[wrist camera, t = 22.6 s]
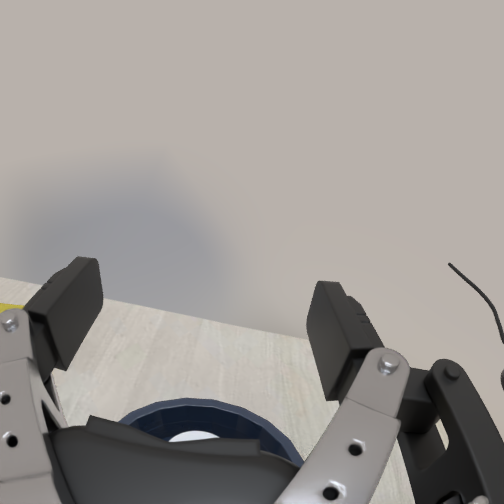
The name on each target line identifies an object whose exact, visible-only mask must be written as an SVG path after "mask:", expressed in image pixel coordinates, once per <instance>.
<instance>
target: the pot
mask: <svg viewBox="0 0 504 504" xmlns="http://www.w3.org/2000/svg"><path fill="white" fill-rule="evenodd" d="M119 423H123V424H127V425H130V426H132V427H134V428H136V429H138V430H141V431H143V432H145V433H148V434H150V435H152V436H155V437H157V438H160V439H162V440H165V441H170V440H171V439H172V438H173V437H175V436H176V435H179V434H181V433H184V432H188V431H203V432H208V433H211V434H213V435H216V436H218V437H219V438H233V439H260V450H261V451H265V452H269V453H272V454H275V455H278V456H280V457H283V458H285V459H287V460H289V461H291V462H293V463H294V464H296V465H297V466H299V467H301V466H302V465H303V463H304V461H303V459H302V458H301V456H300V455H299V453H298V451H297V450H296V448H295V447H294V445H293V444H292V442H291V440H289V438H287V437H286V436H285V435H284V434H283V433H282V432H280V431H279V430H278V429H277V428H276V427H275V426H274V425H273V424H271V423H270V422H269V421H268V420H266V419H264V418H262V417H260V416H258V415H256V414H254V413H252V412H250V411H248V410H247V409H245V408H242V407H239V406H235V405H231V404H228V403H224V402H221V401H217V400H212V399H196V398H181V399H174V400H167V401H160V402H155V403H153V404H150V405H148V406H145V407H143V408H140V409H137V410H135V411H132V412H130V413H129V414H128V415H126V416H125V417H124V418H122V419H121V420H120V421H119Z"/></svg>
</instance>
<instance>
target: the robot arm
mask: <svg viewBox="0 0 504 504" xmlns="http://www.w3.org/2000/svg"><path fill="white" fill-rule="evenodd" d="M448 265H449V266H450V267H451V268H452V269H453V270H454V271H455V272H456V273H457V274H458V275H459V276H460V277H462V279H464V280H465V281H466V282H467V283H468V284H469V285H470V286H472V287H473V288H474V289H475V290H476V291H477V292H478V293H479V294H480V295H481V296H482V297H483V298H484V300H485V301H486V302H487V303H488V304H489V306H490V308H491V309H492V311H493V313H494V316H495V320H496V323H497V326H498V329H499V333H500V337H501V340H502V342H503V344H504V333H503V329H502V326H501V323H500V320H499V318H498V314H497V311H496V309H495V307H494V305H493V304H492V303H491V301H490V300H489V299H488V297H487V296H486V295H485V294H484V293H483V292H482V291H481V290H480V289H479V288H478V287H477V286H476V285H475V284H473V283H472V282H471V281H470V280H469V279H468V278H466V277H465V276H464V275H463V274H462V273H461V272H460V271H459V270H457V268H455V267H454V266H453V265H452V264H451V263H448ZM102 305H103V292H102V284H101V278H100V271H99V264H98V261H97V259H95V258H87V257H76V258H75V259H74V260H73V261H72V262H71V263H70V264H69V265H68V267H66V268H64V269H62V270H60V271H58V272H57V273H55V274H54V275H53V276H52V277H51V278H50V279H49V280H48V281H47V283H45V284H44V285H43V286H42V287H41V289H39V291H38V292H37V293H36V294H35V295H34V296H33V297H32V298H31V299H30V300H29V302H28V303H27V304H26V305H25V306H24V307H23V308H22V309H19V308H12V309H8V310H5V311H3V312H1V313H0V504H369V502H370V500H371V498H372V496H373V494H374V491H375V489H376V487H377V485H378V483H379V481H380V478H381V476H382V474H383V471H384V469H385V466H386V464H387V462H388V459H389V456H390V454H391V451H392V449H393V446H394V443H395V440H396V438H397V440H398V443H399V446H400V449H401V453H402V456H403V459H404V463H405V466H406V470H407V473H408V477H409V481H410V484H411V488H412V492H413V496H414V500H415V504H504V442H503V440H502V438H501V436H500V434H499V432H498V430H497V428H496V426H495V424H494V422H493V420H492V418H491V417H490V414H489V412H488V410H487V409H486V407H485V405H484V403H483V401H482V399H481V398H480V396H479V394H478V392H477V391H476V389H475V387H474V386H473V384H472V382H471V381H470V379H469V377H468V375H467V374H466V372H465V371H464V369H463V368H462V367H461V366H460V365H459V364H457V363H455V362H453V361H451V360H448V359H439V360H437V361H436V362H435V363H434V364H433V366H432V367H431V369H430V370H429V371H428V370H422V369H416V368H411V367H410V366H409V364H408V362H407V360H406V359H405V358H404V357H403V356H402V355H401V354H400V353H398V352H397V351H394V350H392V349H388V348H385V347H384V345H383V343H382V341H381V339H380V338H379V336H378V334H377V332H376V330H375V329H374V327H373V325H372V323H370V320H369V318H368V316H366V313H365V311H364V309H363V308H362V306H361V304H360V303H358V302H357V301H356V300H355V299H354V298H353V297H351V296H346V294H345V292H344V290H343V288H342V286H341V285H340V283H339V282H330V281H318V282H317V284H316V287H315V290H314V294H313V298H312V301H311V305H310V309H309V312H308V316H307V333H308V337H309V341H310V344H311V348H312V351H313V355H314V358H315V362H316V366H317V369H318V373H319V376H320V380H321V384H322V387H323V391H324V395H325V399H326V401H335V400H338V401H339V404H340V407H339V408H338V410H337V412H336V413H335V415H334V417H333V418H332V420H331V422H330V423H329V425H328V427H327V428H326V430H325V432H324V433H323V435H322V436H321V438H320V439H319V441H318V443H317V444H316V446H315V447H314V449H313V450H312V452H311V453H310V455H309V456H308V457H307V459H306V460H305V462H304V463H303V465H302V466H301V467H299V466H297V465H296V464H294V463H293V462H291V461H289V460H287V459H285V458H283V457H280V456H278V455H275V454H272V453H269V452H265V451H261V450H260V439H233V438H217V437H215V438H207V439H199V440H189V441H177V442H169V441H165V440H162V439H160V438H157V437H155V436H152V435H150V434H148V433H145V432H143V431H141V430H138V429H136V428H134V427H132V426H130V425H127V424H123V423H119V422H114V421H110V420H106V419H103V418H99V417H95V416H92V415H90V416H89V419H88V421H87V424H86V426H71V427H69V426H68V424H67V422H66V419H65V416H64V413H63V410H62V407H61V403H60V400H59V396H58V393H57V389H56V385H55V381H54V378H53V375H52V373H51V372H52V370H53V369H54V368H57V369H61V370H64V371H67V369H68V367H69V365H70V363H71V361H72V360H73V358H74V356H75V354H76V352H77V350H78V349H79V347H80V345H81V343H82V342H83V340H84V338H85V336H86V335H87V333H88V331H89V329H90V328H91V326H92V324H93V323H94V321H95V319H96V318H97V316H98V314H99V313H100V311H101V309H102ZM439 419H441V421H442V423H443V426H444V428H445V430H446V433H447V435H448V439H449V444H448V448H447V450H445V447H444V445H443V442H442V440H441V437H440V435H439V432H438V430H437V427H436V425H435V424H436V423H437V422H438V421H439Z"/></svg>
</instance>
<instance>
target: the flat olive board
mask: <svg viewBox="0 0 504 504" xmlns="http://www.w3.org/2000/svg"><path fill="white" fill-rule="evenodd" d="M23 307H24V306H22V305H12V304H3V303H0V313H1V312H3V311H5V310H8V309H12V308H19V309H22V308H23Z"/></svg>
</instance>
